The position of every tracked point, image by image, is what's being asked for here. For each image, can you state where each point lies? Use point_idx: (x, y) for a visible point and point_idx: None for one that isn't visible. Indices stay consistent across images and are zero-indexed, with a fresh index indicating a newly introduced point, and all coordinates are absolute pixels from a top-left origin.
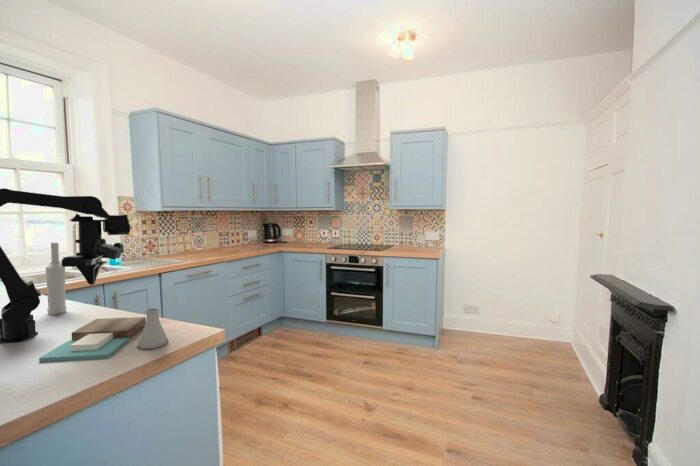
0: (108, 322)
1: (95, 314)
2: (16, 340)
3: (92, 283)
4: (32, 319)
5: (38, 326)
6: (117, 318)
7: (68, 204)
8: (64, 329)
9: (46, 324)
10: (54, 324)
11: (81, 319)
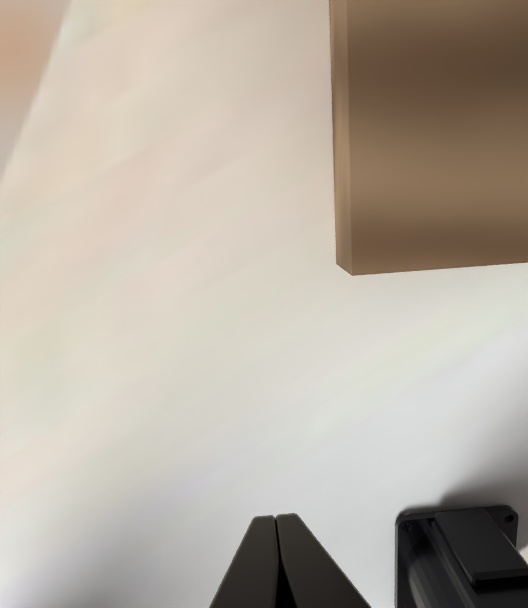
0: (461, 123)
1: (37, 444)
2: (516, 528)
3: (306, 528)
4: (480, 590)
5: None
6: (364, 105)
7: None
8: (337, 435)
9: None
10: None
11: (149, 461)
